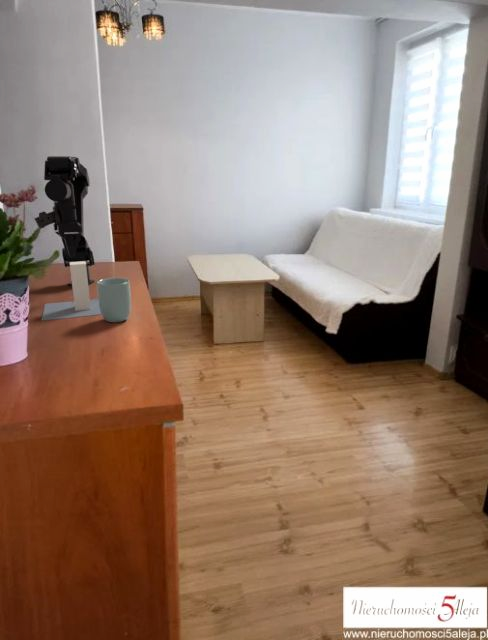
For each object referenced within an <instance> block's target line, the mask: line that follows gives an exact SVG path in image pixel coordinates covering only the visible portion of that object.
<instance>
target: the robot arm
mask: <svg viewBox="0 0 488 640" xmlns="http://www.w3.org/2000/svg"><path fill="white" fill-rule="evenodd" d="M43 172H44V176H43V179H44V181H47V182H46V184H45V187H44V194H45V196H46V197H47V198H48V199H49V200H51V201H53V206H52V210H51V211H49V212H46V211H44V210H43V211H42V212H38V216H36V217H34V218H33V220H34V221H35V223H36V225H37V227H38V229H39V228H40V230H41V229H44V228H45V227H47V226H49V225H53V226H52V227H53V231H54V233H55V234H57V235H58V236H59V237H60V239H61V241H62V244H63V245H62V246H63V248H62V250H61V251H62V254H61V255H62V259H63V264H64V268H67V267H69V268H70V262H81V261H86V269H87V278H88V285H90V284H93V283H94V282H95V279H91V274H90V268H89V267H92V266H94V265H95V264H96V263H95V257H94V253H93V251H92V249H91V247H90V246H89V243H88V240H87V239H86V238H85V234H84V232H85V231H84V227H85V226H84V199H85V198H86V196H87V195H88V194H89V187H90V184H91V183H90V176H89V172H88V169H87V168H86V167H85V166H84V165H83V164H81V163H80V159H79V157H77V156H70V155H69V156H67V155H66V156H65V155H64V156H63V155H61V156H60V155H58V156H56V155H52V156H51V155H50V156H47V157H46V160H45V161H44V171H43ZM67 286H72V281H71V282H69V283H67Z"/></svg>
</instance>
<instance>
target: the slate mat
mask: <svg viewBox="0 0 488 640" xmlns="http://www.w3.org/2000/svg"><path fill="white" fill-rule="evenodd" d="M90 305H91V309H87V310H76V311H75V304H74V300H73V301H63V302H61V301H60V302H50V303H45V304H44V308H43V311H42V312H43V313H42V316H41V320H40V321H42V322H43V321H44V322H45V321H52V320H54V321H55V320H63V319H73V318H74V319H75V318H84V317H94V316H102V314H101V311H100V307H99V301H98V298H96V299H90Z"/></svg>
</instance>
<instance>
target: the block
mask: <svg viewBox="0 0 488 640" xmlns="http://www.w3.org/2000/svg"><path fill="white" fill-rule="evenodd" d="M69 269H70V278H71V282H72V285H71V287H72V293H73V301H74V304H75V311H76V310H87V309H91V305H90V300H91V298H90V289H89V288H90V287H89V284H88V278H87V269H86V261H81V262H70V267H69Z"/></svg>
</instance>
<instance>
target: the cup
mask: <svg viewBox="0 0 488 640" xmlns="http://www.w3.org/2000/svg"><path fill="white" fill-rule="evenodd" d="M130 285H131V284H130V280H129V279H128V278H127V277H125V278H124V277H110V278H109V277H107V278H102V279H100V280H97V282H96V291H97V293H96V294H97V299H98V301H99V307H100V311H101V314H102V315H101V316H102V318H103V319H104V320H105V321H106V322H109V323H120V322H121V323H122V322H123V321H126V320H127V319H128V318H129V317H130V315H131V311H132V299H131V297H132V295H131V286H130Z"/></svg>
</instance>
